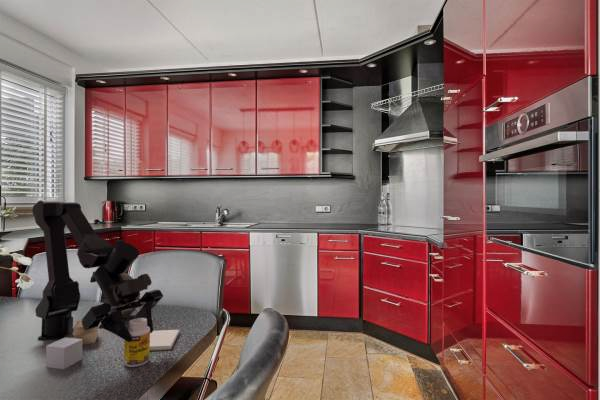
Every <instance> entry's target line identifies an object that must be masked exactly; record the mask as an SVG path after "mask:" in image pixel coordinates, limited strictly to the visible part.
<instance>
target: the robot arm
mask: <svg viewBox="0 0 600 400" xmlns="http://www.w3.org/2000/svg"><path fill="white" fill-rule="evenodd" d="M32 215H33V216H34V221H35V224H36V225H37V226H38V227H39V228H40V229H41V230H42V232H43V236H44V237H43V238H44V248H45V257H46V267H47V275H48V276H47V277H48V281H47V283H46V285H45V286H44V289H43V290H42V299H41V300H40V302H39V303H38V304H37V306H36V307H35V316H36V318H37V317H38V318H40V319H41V334H40V335H39V336H38V337H37V340H53V339H54V340H56V339H57V340H58V339H59V340H60V339H63V338H65V337H66V336H68V335H69V334H71V333H72V332H74V317H73V316H72V313H73V312H76V311H78V308H79V304H80V300H81V292H80V287H79V285H80V284H79V282H78V281H76V280H75V281H74V280H73V279H72V277H71V276H70V269H69V260H68V252H67V251H68V250H67V242H66V233H65V228H67V229H68V230H69V232H70V234H71V236H72V238H73V240H74V241H75V243H76V244H77V247H78V248H77V249H78V250H77V252H76V255H77V258H78V261H79V264H80V265H81V266H82V267H83V268H84V269H95V268H96V269H95V271H92V275H91V277H90V283H92V284H93V283H97V285H98V287H99V289H100V291H101V293H102V295H101V296H100V299H101V301H103V300H107V302H108V303H101V304H98V305H94V306H91V308H89V310H88V311H87V312H86V314H85V315H84V316H83V318H82V320H81V321H82V325H83V327H84V329H85V330H89V329H92V328H95V327H98V329H99V330H102V329H104V330H106V331H108V332H109V333H112V334H114V335H116V336H118V337H119V338H121V339H122V340H124V341H125V340H126V341H127V342H130V341H131V340H132V337H131V335H130V332H129V330H128V327H127V325H126V324H125V321H124V318H122V312H125V311H128V310H131V309H134V308H135V309H136V310H135V311H136V312H137V313H136V314H135V318H146V319H147V326H149V327H150V333H152V332H153V331H154V327H153V325H154V324H153V317H152V310H153V309H154V308H155V307H156V305H158V304H159V303H160V301H161V300H162V299H163V298H164V295H163V293H162V291H161V290H160V289H156V288H155V289H153V290H150V291H146V292H145V293H144V294H143V295H142V296H141V292H143V291H145V290H148V287H149V286H151V285H152V279H151V277H150V275H149V274H148V273H144V274H140V275H138V276H137V278H133V279H131V280H125V279H124V277H123V275H122V273H127V271H128V270H129V269H130V268H131V266H132V265H133V264H134V263H135V261H136V260H137V259H138V258H139V255H140V252H139V249H138V248H137V247H135V246H134V245H132V244H131V243H129V242H127V241H125V240H124V239H120V240H119V239H117V240H116V241H115V242H114V244H113V245H111V243H110V242H108V240H107V239H105V238H103V237H101V236H99V235H98V234H97V233H96V231H95V229H94V227H92V225H91V224H90V222H89V220H88V218H87V217H86V215H85V214H84V213H83V211H82V206H81V204H80V203H79V202H76V201H65V200H39V201H37V202H36V204H34V205H33V206H32ZM139 292H140V293H139ZM139 295H140V296H141V297H140V299H138V300H136V297H138V296H139Z"/></svg>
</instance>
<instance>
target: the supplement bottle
mask: <svg viewBox="0 0 600 400" xmlns="http://www.w3.org/2000/svg"><path fill="white" fill-rule="evenodd" d="M127 329H128V330H129V332H130V335H131V337H132V340H131V341H130V342H127V341H126V340H124V343H123V344H124V345H123V346H124V347H123V349H124V350H123V364H124V366H126V367H128V368H136V367H141V366H143V365H145V364H147V363H148V361H149V360H150V350H149V349H150V327H149V326H147V319H146V318H137V317H135V318H133V319H130V320H129V321H128V327H127Z"/></svg>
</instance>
